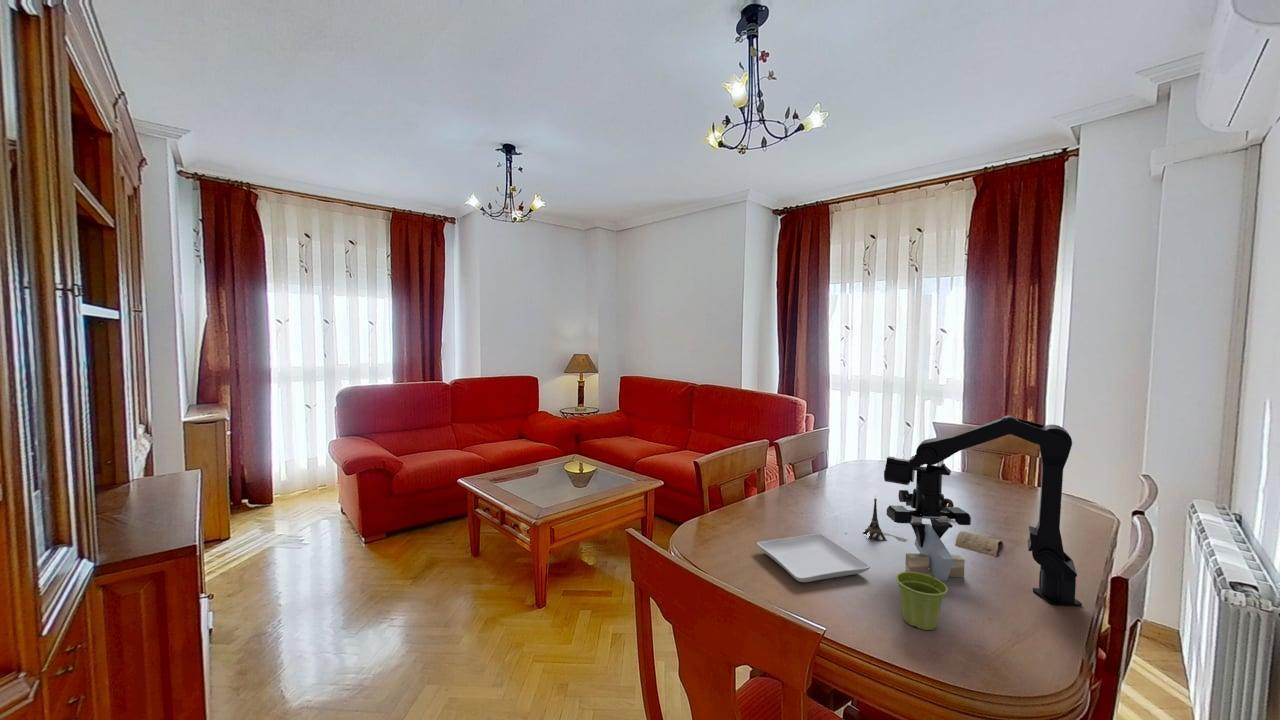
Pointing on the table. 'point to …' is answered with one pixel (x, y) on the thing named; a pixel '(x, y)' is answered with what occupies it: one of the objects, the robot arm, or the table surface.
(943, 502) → the pottery mug
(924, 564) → the maple rail
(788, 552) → the salad plate
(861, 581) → the table surface
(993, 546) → the clay tablet
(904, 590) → the plant pot
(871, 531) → the eiffel tower figurine
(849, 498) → the table surface
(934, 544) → the pale blue plank
